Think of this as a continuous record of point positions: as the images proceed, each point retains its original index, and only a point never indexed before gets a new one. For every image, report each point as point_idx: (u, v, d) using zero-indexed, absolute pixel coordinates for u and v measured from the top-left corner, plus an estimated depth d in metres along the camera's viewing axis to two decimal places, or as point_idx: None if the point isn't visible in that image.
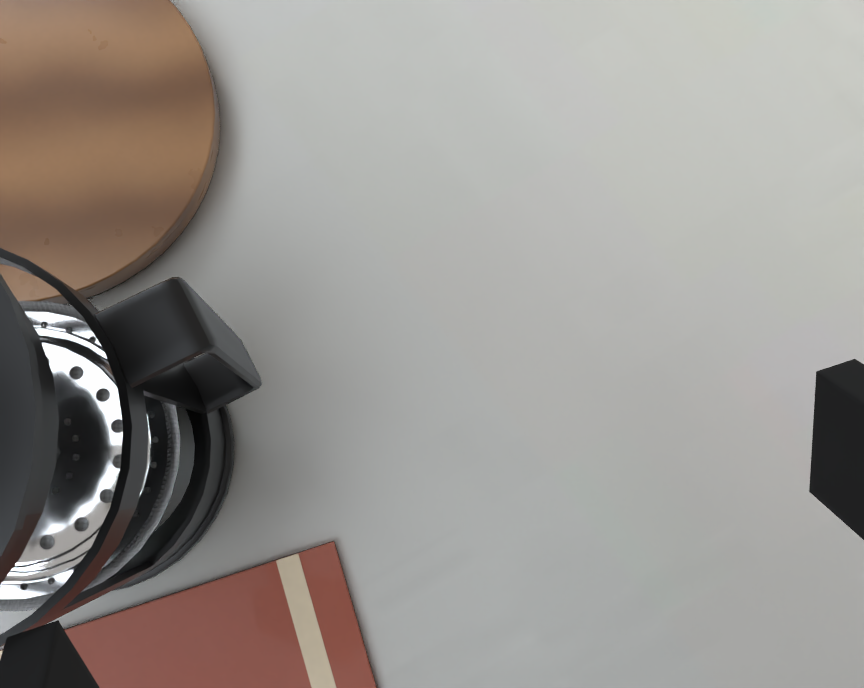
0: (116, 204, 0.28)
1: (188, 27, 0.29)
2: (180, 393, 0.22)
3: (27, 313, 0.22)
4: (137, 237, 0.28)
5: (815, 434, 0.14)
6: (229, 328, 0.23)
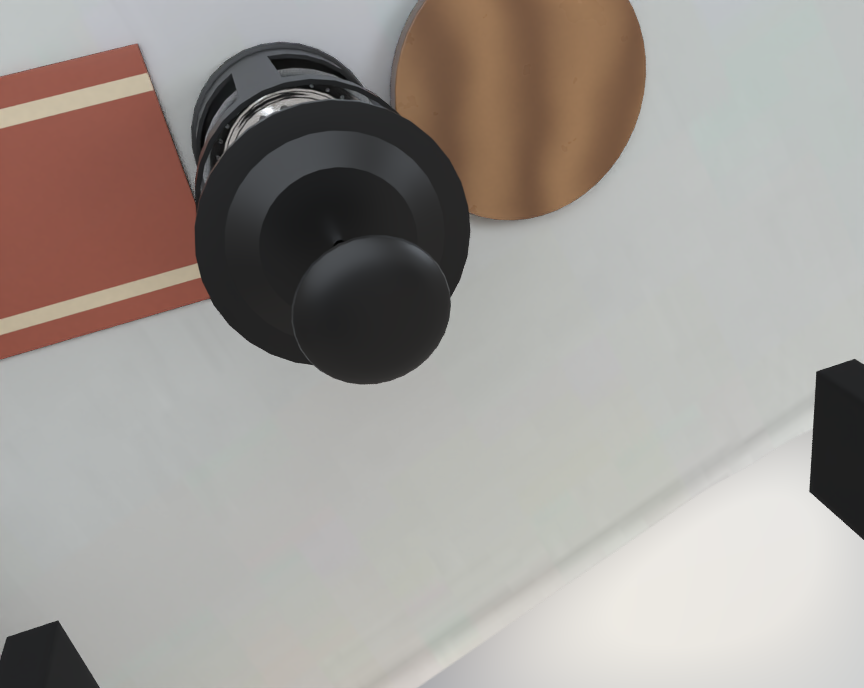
0: (457, 159, 0.41)
1: (569, 202, 0.44)
2: None
3: None
4: None
5: (815, 434, 0.14)
6: None
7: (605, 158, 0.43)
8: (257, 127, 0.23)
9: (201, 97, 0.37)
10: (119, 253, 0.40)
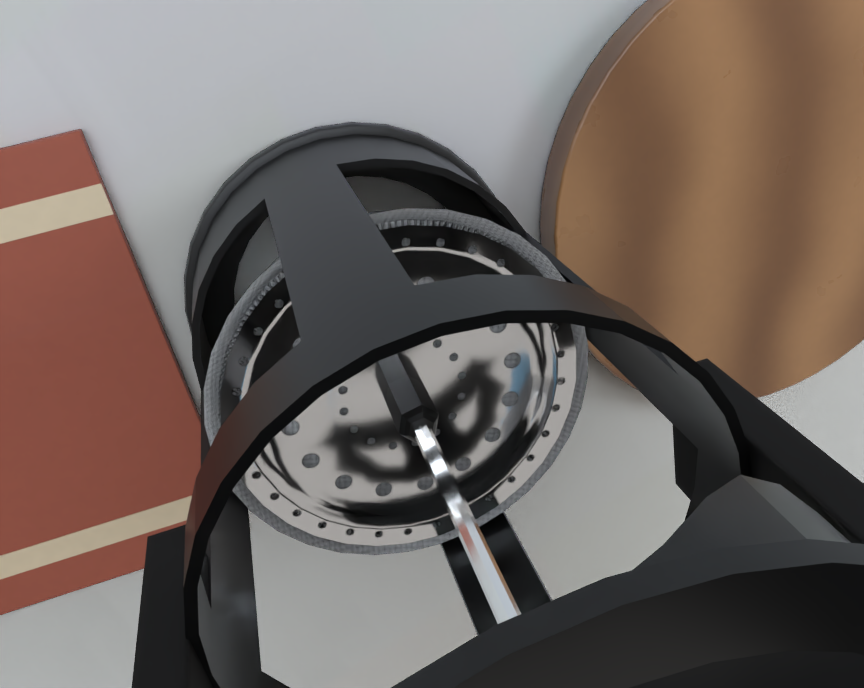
0: (647, 316, 0.24)
1: (814, 373, 0.26)
2: None
3: (571, 387, 0.18)
4: None
5: (675, 429, 0.15)
6: None
7: None
8: None
9: (204, 226, 0.20)
10: (55, 488, 0.22)
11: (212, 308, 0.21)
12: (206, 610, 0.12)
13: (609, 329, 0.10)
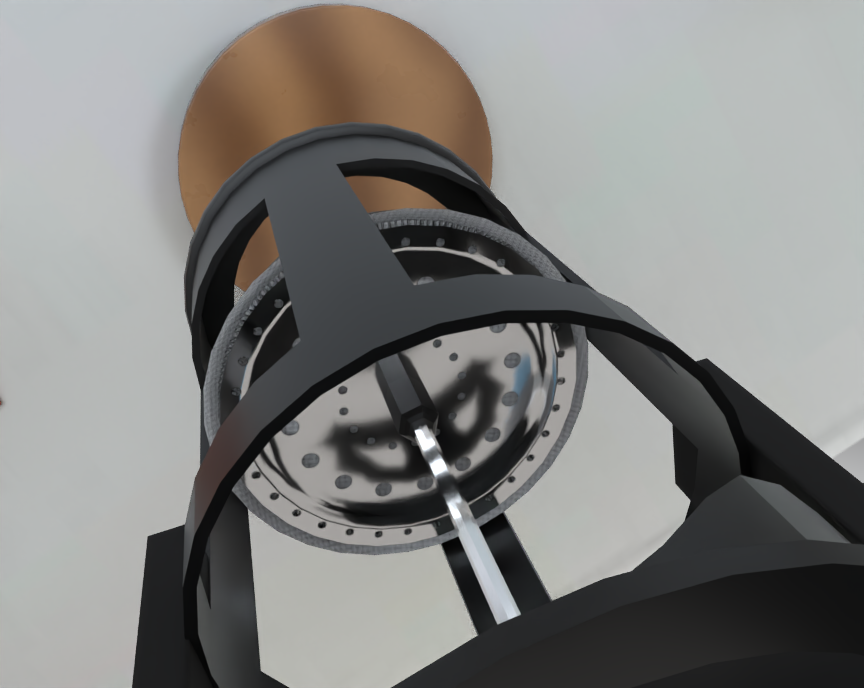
0: (265, 254, 0.35)
1: None
2: None
3: (571, 387, 0.18)
4: (238, 270, 0.35)
5: (675, 429, 0.15)
6: None
7: None
8: None
9: (204, 225, 0.20)
10: None
11: (212, 308, 0.21)
12: (205, 610, 0.12)
13: (609, 329, 0.10)
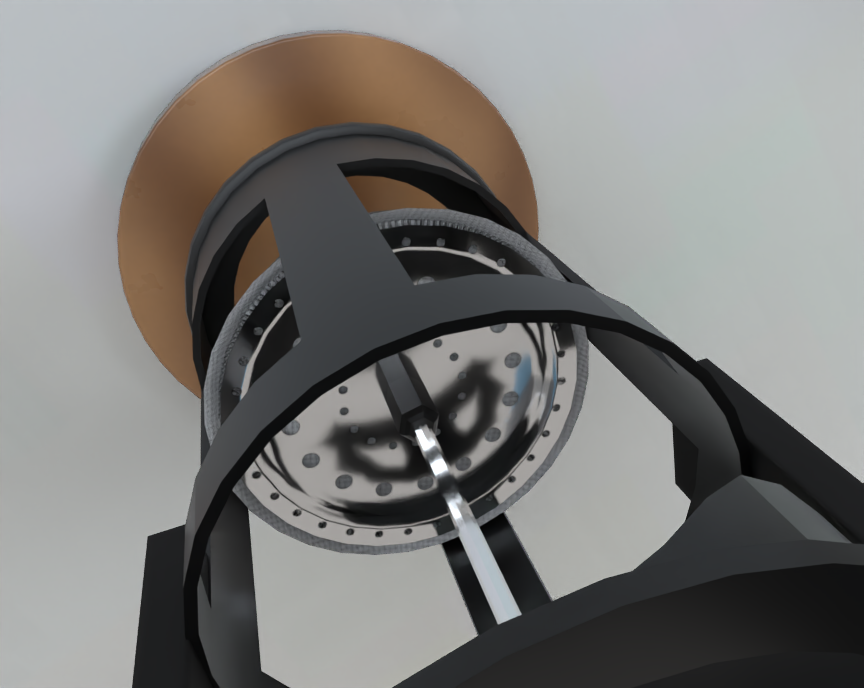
0: None
1: None
2: None
3: (572, 387, 0.18)
4: None
5: (675, 429, 0.15)
6: None
7: None
8: None
9: (204, 226, 0.20)
10: None
11: (212, 308, 0.21)
12: (206, 610, 0.12)
13: (610, 329, 0.10)
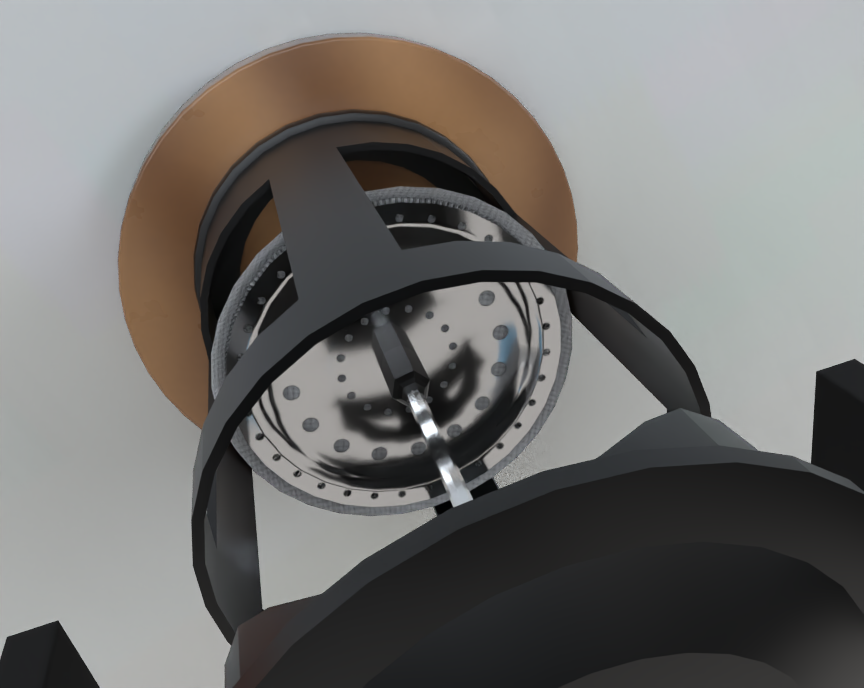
0: None
1: None
2: None
3: (556, 359, 0.19)
4: None
5: (815, 434, 0.14)
6: None
7: None
8: (400, 571, 0.07)
9: (212, 206, 0.21)
10: None
11: (219, 285, 0.22)
12: (212, 547, 0.13)
13: (576, 289, 0.11)
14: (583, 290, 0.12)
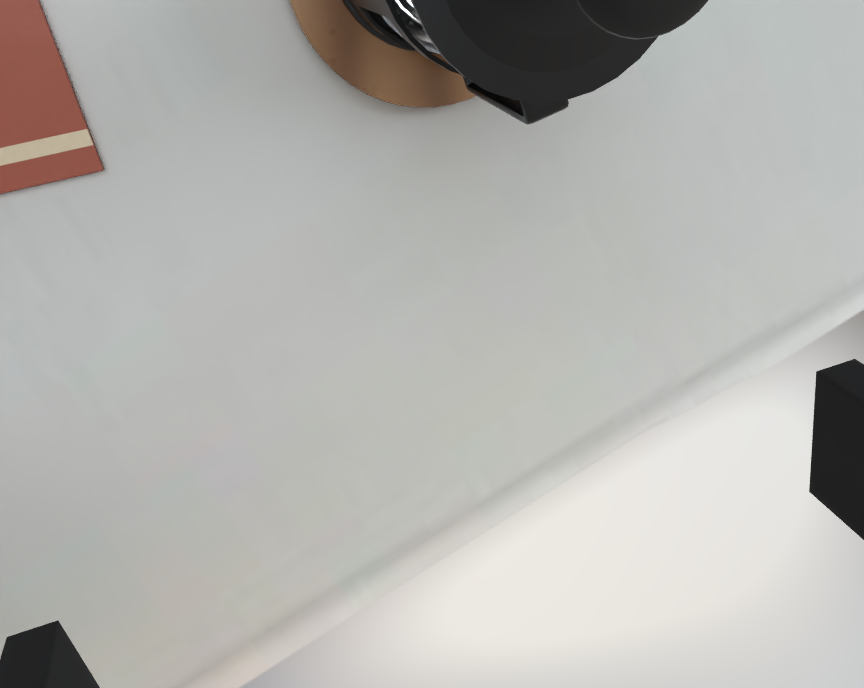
0: (353, 31, 0.38)
1: None
2: None
3: None
4: (328, 46, 0.38)
5: (815, 434, 0.14)
6: None
7: None
8: None
9: None
10: None
11: None
12: None
13: None
14: None
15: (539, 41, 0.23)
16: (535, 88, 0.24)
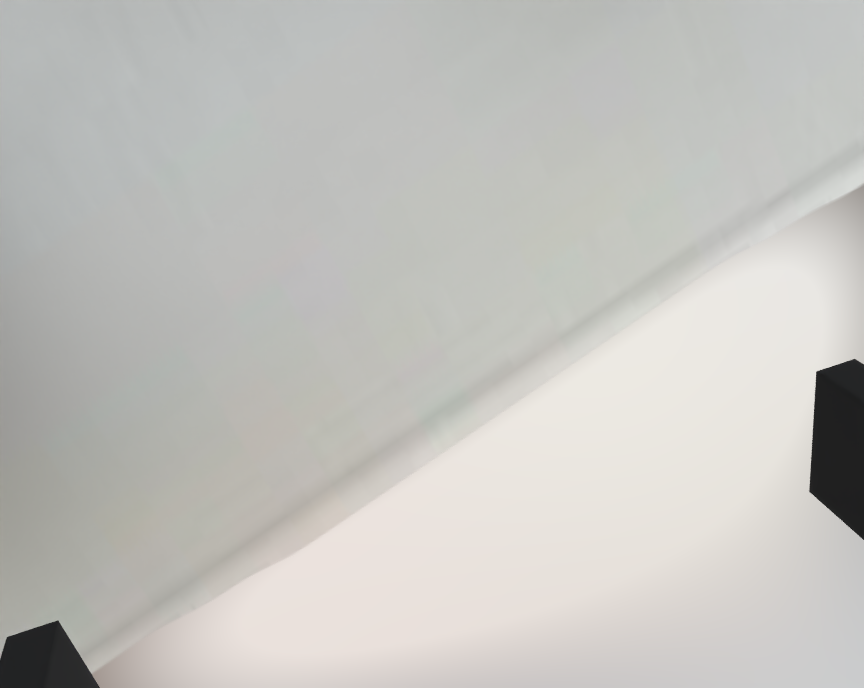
0: None
1: None
2: None
3: None
4: None
5: (815, 434, 0.14)
6: None
7: None
8: None
9: None
10: None
11: None
12: None
13: None
14: None
15: None
16: None
